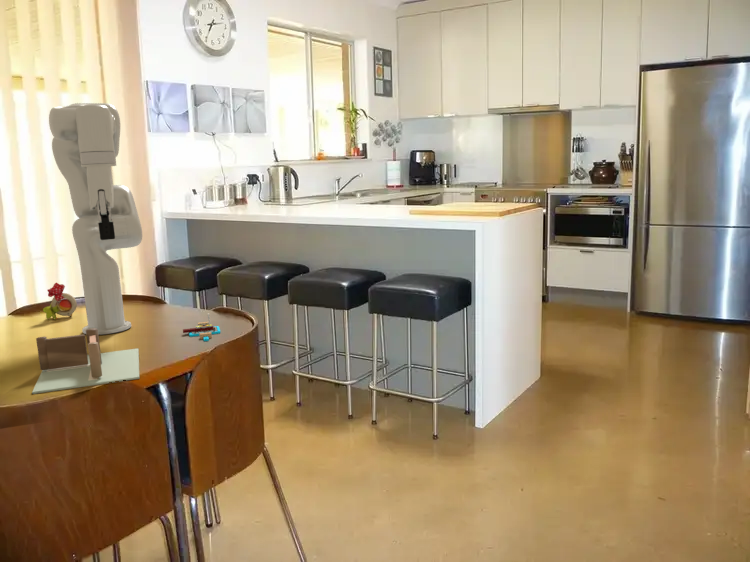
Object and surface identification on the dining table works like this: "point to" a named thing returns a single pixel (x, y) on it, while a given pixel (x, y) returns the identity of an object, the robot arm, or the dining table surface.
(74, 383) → the card
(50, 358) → the fence fixed
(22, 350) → the dining table surface
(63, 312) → the bird rattle
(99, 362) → the pink rectangular panel
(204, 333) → the gear mechanism
